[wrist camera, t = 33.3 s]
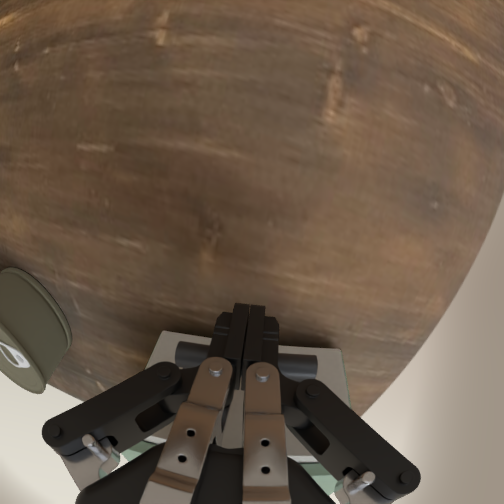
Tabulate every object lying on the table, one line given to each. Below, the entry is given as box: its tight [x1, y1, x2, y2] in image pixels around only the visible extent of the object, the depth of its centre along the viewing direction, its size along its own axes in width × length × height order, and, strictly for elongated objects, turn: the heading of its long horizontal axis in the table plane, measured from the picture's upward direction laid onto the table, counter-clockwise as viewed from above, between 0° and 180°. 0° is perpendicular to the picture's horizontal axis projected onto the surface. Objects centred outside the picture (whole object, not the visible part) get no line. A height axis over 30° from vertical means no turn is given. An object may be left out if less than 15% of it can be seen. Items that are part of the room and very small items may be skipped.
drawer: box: [144, 331, 350, 464], centre depth 19 cm, size 20×14×9 cm
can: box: [0, 267, 72, 394], centre depth 21 cm, size 12×12×7 cm
